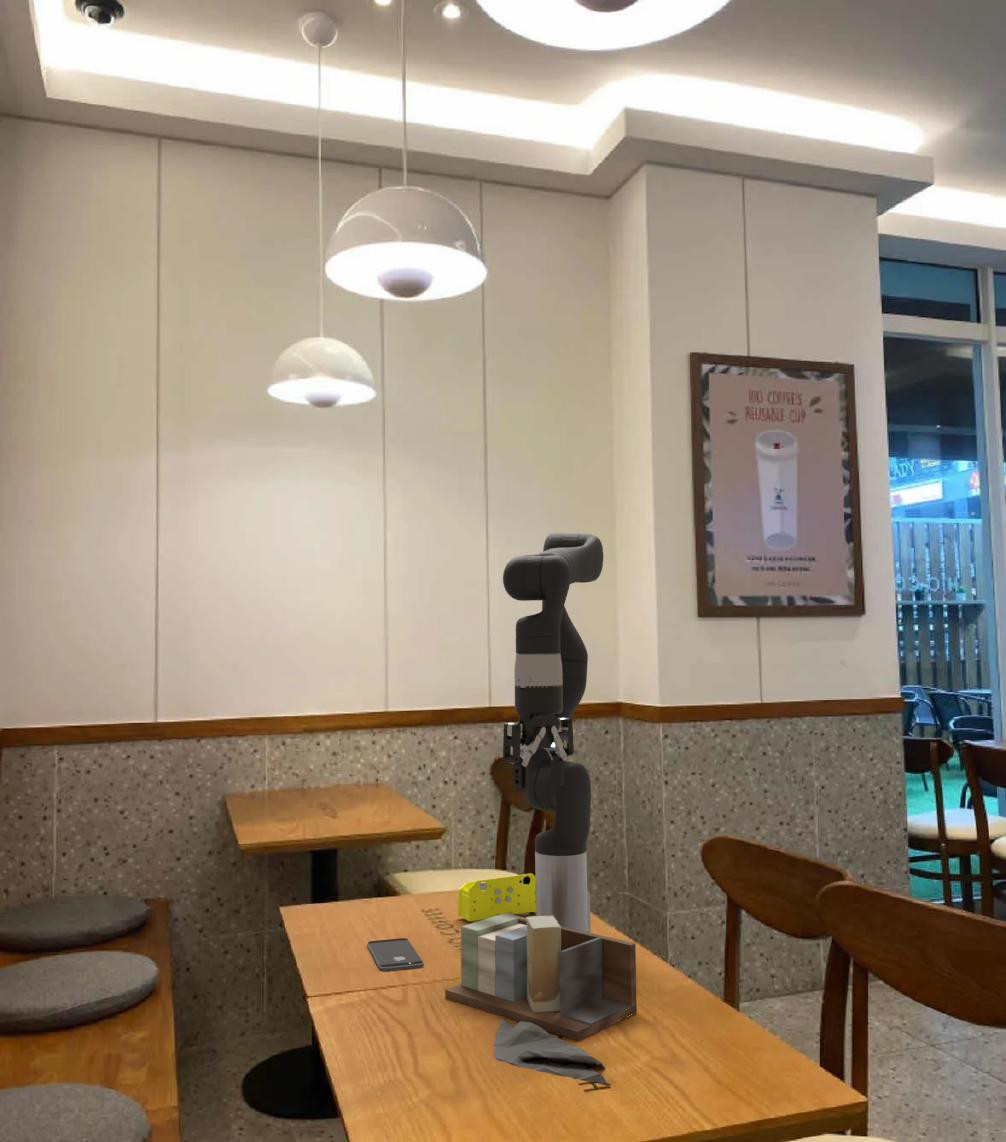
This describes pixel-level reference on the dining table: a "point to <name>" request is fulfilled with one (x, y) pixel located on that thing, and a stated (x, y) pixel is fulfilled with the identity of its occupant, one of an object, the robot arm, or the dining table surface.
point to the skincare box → (543, 963)
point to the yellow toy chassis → (497, 897)
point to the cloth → (542, 1051)
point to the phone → (394, 954)
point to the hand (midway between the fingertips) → (539, 787)
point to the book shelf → (586, 976)
